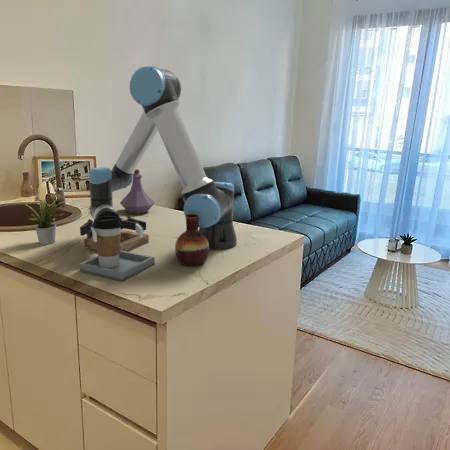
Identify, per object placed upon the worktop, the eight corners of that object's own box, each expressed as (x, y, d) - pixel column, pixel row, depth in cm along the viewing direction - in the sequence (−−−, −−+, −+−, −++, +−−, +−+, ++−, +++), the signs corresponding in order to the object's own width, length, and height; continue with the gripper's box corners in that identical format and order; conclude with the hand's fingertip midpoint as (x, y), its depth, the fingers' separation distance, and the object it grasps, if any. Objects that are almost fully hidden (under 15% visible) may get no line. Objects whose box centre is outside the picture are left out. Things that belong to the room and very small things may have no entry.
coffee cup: (114, 270, 127) (112, 221, 123) (89, 267, 129) (86, 219, 125) (128, 262, 135) (126, 215, 131) (104, 259, 137) (102, 213, 133)
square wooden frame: (148, 242, 157) (148, 234, 157) (120, 254, 143) (120, 246, 143) (114, 236, 164) (114, 228, 163) (84, 247, 150) (83, 239, 149)
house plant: (79, 241, 156) (76, 197, 152) (47, 251, 145) (43, 204, 140) (53, 234, 163) (50, 192, 159) (20, 243, 152) (16, 198, 147)
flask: (136, 217, 192) (135, 173, 187) (112, 211, 202) (110, 169, 196) (162, 211, 205) (161, 170, 200) (138, 206, 214) (137, 166, 209)
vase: (178, 269, 132) (178, 221, 128) (172, 256, 143) (171, 212, 138) (212, 266, 135) (213, 219, 131) (204, 254, 146) (205, 210, 141)
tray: (154, 264, 136) (154, 257, 135) (122, 281, 122) (122, 273, 121) (114, 256, 142) (114, 249, 141) (79, 271, 128) (79, 263, 127)
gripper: (143, 225, 151) (160, 243, 132) (68, 232, 140) (75, 251, 122) (142, 205, 149) (159, 219, 130) (67, 210, 139) (73, 226, 120)
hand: (119, 235), depth 126 cm, fingers open, 13 cm apart
